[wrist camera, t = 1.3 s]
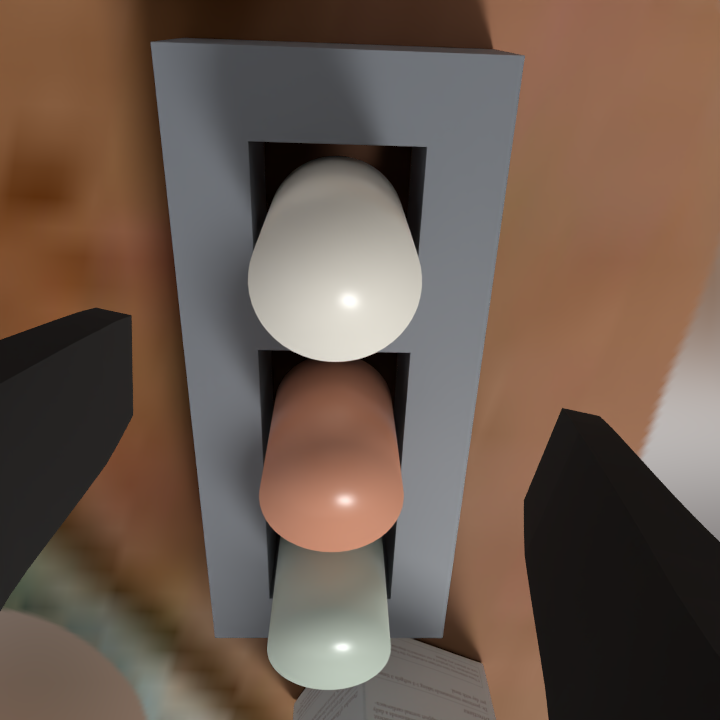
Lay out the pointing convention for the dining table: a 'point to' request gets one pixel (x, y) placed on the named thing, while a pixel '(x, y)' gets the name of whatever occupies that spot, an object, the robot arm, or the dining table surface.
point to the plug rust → (332, 457)
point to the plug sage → (329, 616)
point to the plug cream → (335, 262)
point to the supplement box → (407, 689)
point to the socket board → (254, 344)
